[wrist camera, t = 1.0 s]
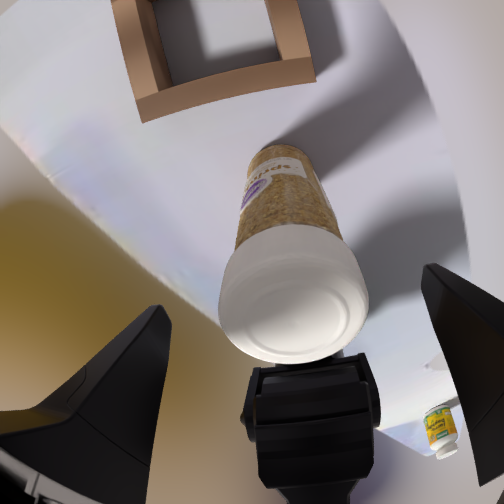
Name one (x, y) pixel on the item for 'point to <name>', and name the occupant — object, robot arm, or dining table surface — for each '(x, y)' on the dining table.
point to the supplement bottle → (441, 431)
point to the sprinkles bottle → (290, 267)
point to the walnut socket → (215, 86)
